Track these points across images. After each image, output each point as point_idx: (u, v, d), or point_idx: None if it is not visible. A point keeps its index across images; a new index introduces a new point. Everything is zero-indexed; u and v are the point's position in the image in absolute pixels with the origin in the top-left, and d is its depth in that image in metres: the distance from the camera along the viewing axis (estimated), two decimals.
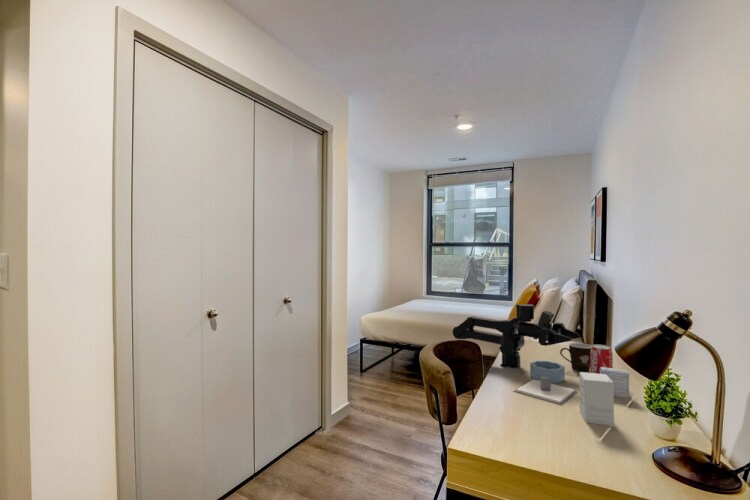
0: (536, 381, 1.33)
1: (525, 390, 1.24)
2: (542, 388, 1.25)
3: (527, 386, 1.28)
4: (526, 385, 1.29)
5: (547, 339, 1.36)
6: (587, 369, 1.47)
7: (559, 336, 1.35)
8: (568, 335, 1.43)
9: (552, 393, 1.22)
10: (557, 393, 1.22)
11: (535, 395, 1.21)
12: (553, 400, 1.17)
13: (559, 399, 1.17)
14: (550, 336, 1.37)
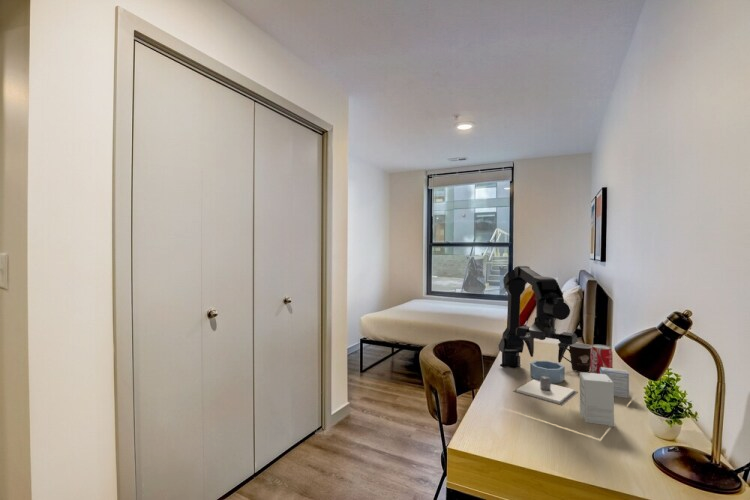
0: (536, 381, 1.33)
1: (525, 390, 1.24)
2: (542, 388, 1.25)
3: (527, 386, 1.28)
4: (526, 385, 1.29)
5: None
6: (587, 369, 1.47)
7: None
8: None
9: (552, 393, 1.22)
10: (557, 393, 1.22)
11: (535, 395, 1.21)
12: (553, 400, 1.17)
13: (559, 399, 1.17)
14: None
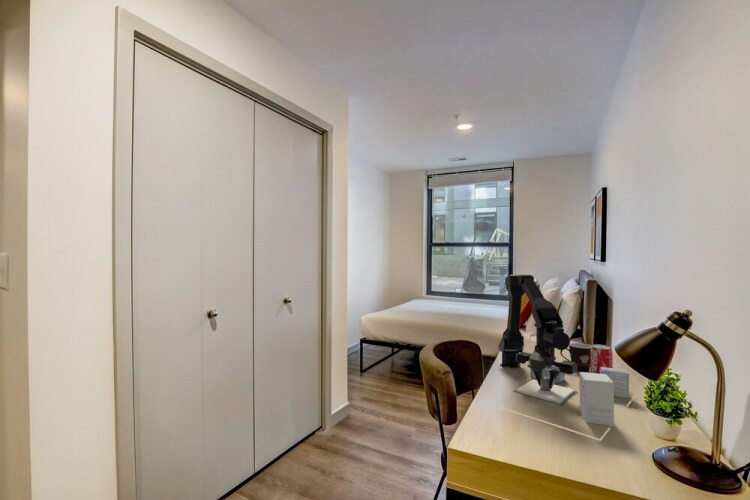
0: (536, 381, 1.33)
1: (525, 390, 1.24)
2: (542, 388, 1.25)
3: (527, 386, 1.28)
4: (526, 385, 1.29)
5: None
6: (587, 369, 1.47)
7: None
8: None
9: (552, 393, 1.22)
10: (557, 393, 1.22)
11: (535, 395, 1.21)
12: (553, 400, 1.17)
13: (559, 399, 1.17)
14: None
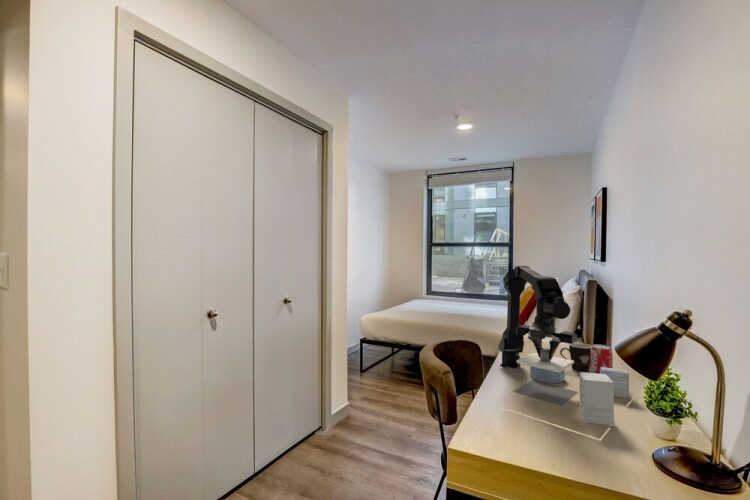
0: (536, 354, 1.34)
1: (525, 361, 1.25)
2: (542, 359, 1.25)
3: (527, 358, 1.29)
4: (526, 357, 1.29)
5: None
6: (587, 369, 1.47)
7: None
8: None
9: (552, 363, 1.22)
10: (557, 363, 1.22)
11: (535, 365, 1.21)
12: (553, 369, 1.17)
13: (559, 368, 1.17)
14: None
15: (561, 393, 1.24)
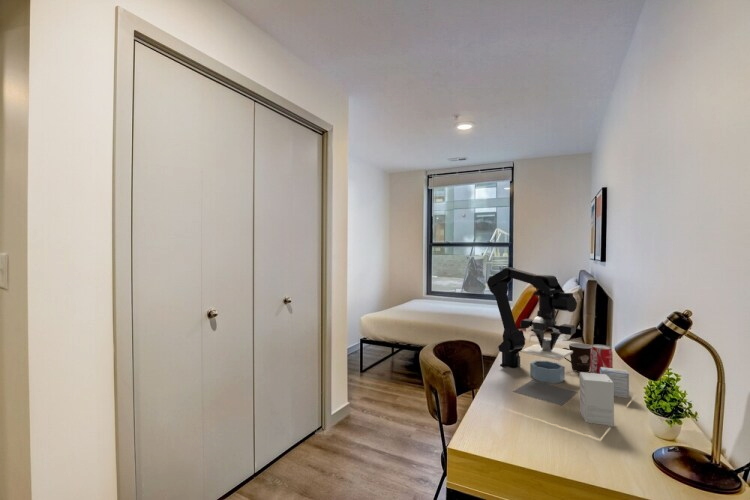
0: (539, 345, 1.47)
1: (528, 351, 1.39)
2: (544, 349, 1.39)
3: (530, 348, 1.42)
4: (529, 347, 1.43)
5: None
6: (587, 369, 1.47)
7: None
8: None
9: (553, 353, 1.36)
10: (557, 353, 1.36)
11: (537, 354, 1.35)
12: (554, 357, 1.31)
13: (559, 357, 1.31)
14: None
15: (561, 393, 1.24)
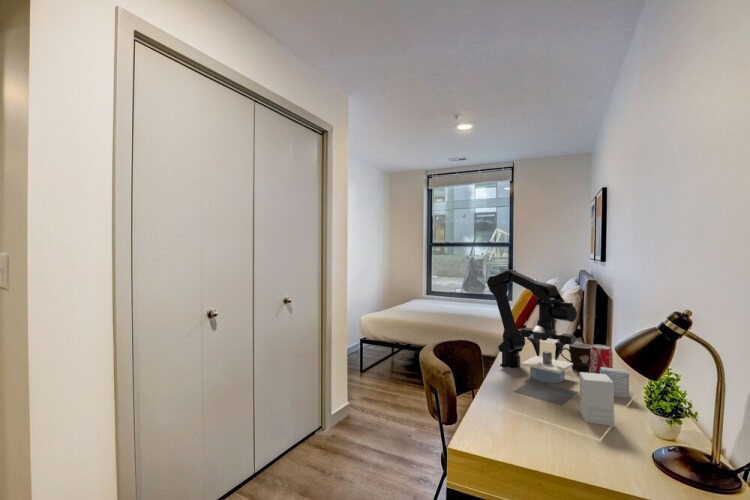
0: (539, 357, 1.47)
1: (529, 363, 1.38)
2: (544, 361, 1.39)
3: (530, 360, 1.42)
4: (530, 360, 1.43)
5: None
6: (587, 369, 1.47)
7: None
8: None
9: (553, 365, 1.36)
10: (558, 365, 1.36)
11: (538, 367, 1.35)
12: (554, 371, 1.31)
13: (559, 370, 1.31)
14: None
15: (561, 393, 1.24)
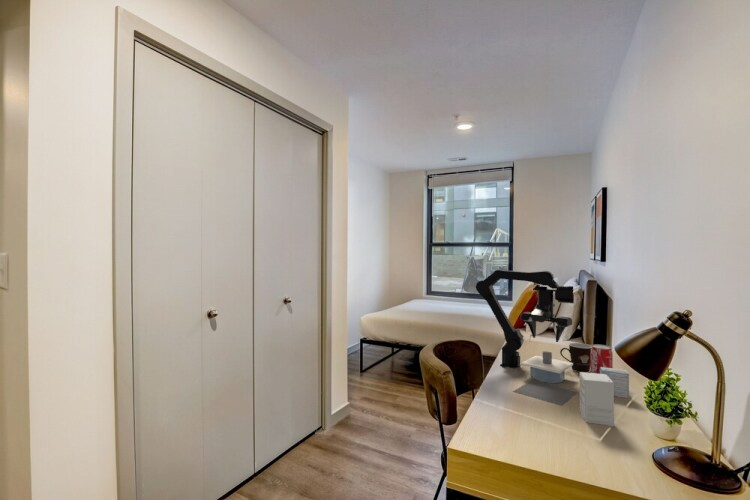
0: (539, 356, 1.47)
1: (529, 363, 1.38)
2: (544, 361, 1.39)
3: (530, 360, 1.42)
4: (530, 359, 1.43)
5: None
6: (587, 369, 1.47)
7: None
8: None
9: (553, 365, 1.36)
10: (558, 365, 1.36)
11: (538, 367, 1.35)
12: (554, 371, 1.31)
13: (559, 370, 1.31)
14: None
15: (561, 393, 1.24)
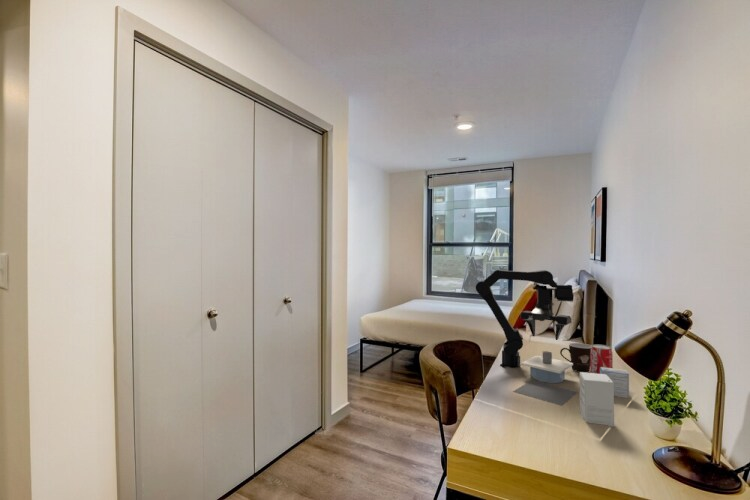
0: (539, 356, 1.47)
1: (529, 363, 1.38)
2: (544, 361, 1.39)
3: (530, 360, 1.42)
4: (530, 359, 1.43)
5: None
6: (587, 369, 1.47)
7: None
8: None
9: (553, 365, 1.36)
10: (558, 365, 1.36)
11: (538, 367, 1.35)
12: (554, 371, 1.31)
13: (559, 370, 1.31)
14: None
15: (561, 393, 1.24)
